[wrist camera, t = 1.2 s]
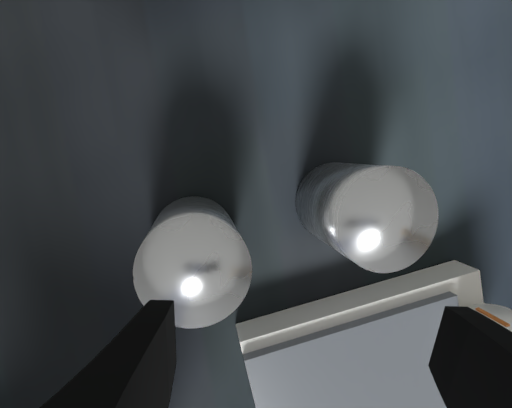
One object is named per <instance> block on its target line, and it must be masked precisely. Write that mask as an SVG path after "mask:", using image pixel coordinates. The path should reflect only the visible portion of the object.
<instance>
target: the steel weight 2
mask: <svg viewBox="0 0 512 408" xmlns="http://www.w3.org/2000/svg"><path fill="white" fill-rule="evenodd" d="M296 212H297V215H298V218H299V220H300V222H301V223H302V225H303V226H304V227H305V229H307V230H308V231H309V232H310V233H311V234H313V235H314V236H316V237H317V238H319V239H320V240H322V241H323V242H325V243H326V244H328V245H329V246H331V247H332V248H334V249H335V250H336V251H338V252H339V253H341V254H342V255H344V256H345V257H347V258H348V259H350V260H351V261H353V262H354V263H356V264H357V265H359V266H360V267H362V268H364V269H366V270H369V271H371V272H376V273H391V272H396V271H399V270H402V269H404V268H406V267H408V266H410V265H412V264H413V263H415V262H416V261H417V260H418V259H419V258H420V257H421V256H422V255H423V254H424V253H425V252H426V250H427V249H428V248H429V246H430V244H431V242H432V241H433V238H434V236H435V233H436V229H437V225H438V205H437V200H436V197H435V195H434V192H433V190H432V188H431V187H430V185H429V184H428V183H427V182H426V180H425V179H424V178H423V177H421V176H420V175H419V174H417V173H416V172H414V171H412V170H410V169H408V168H404V167H399V166H387V165H371V164H355V163H338V162H331V163H325V164H322V165H320V166H317V167H316V168H314V169H313V170H311V171H310V172H309V173H308V174H307V175H306V176H305V177H304V179H303V180H302V181H301V183H300V185H299V188H298V190H297V194H296Z"/></svg>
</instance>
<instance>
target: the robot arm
mask: <svg viewBox="0 0 512 408" xmlns="http://www.w3.org/2000/svg"><path fill="white" fill-rule="evenodd" d="M428 366H429V369H430V371H431V374H432V376H433V378H434V381H435V383H436V386H437V388H438V390H439V393H440V395H441V397H442V399H443V401H444V404H445V406H446V407H447V408H512V332H511V331H510V330H508V329H506V328H505V327H503V326H501V325H500V324H498V323H496V322H494V321H493V320H491V319H489V318H488V317H486V316H484V315H482V314H480V313H479V312H477V311H475V310H473V309H471V308H469V307H462V306H445V308H444V312H443V315H442V319H441V322H440V326H439V329H438V333H437V336H436V340H435V343H434V347H433V350H432V354H431V357H430V361H429V364H428ZM175 368H176V339H175V313H174V300H149V301H148V302H147V303H146V304H145V305H144V306H143V307H142V308H141V310H140V311H139V312H138V313H137V314H136V315H135V316H134V317H133V318H132V320H131V321H130V322H129V323H128V324H127V325H126V326H125V327H124V328H123V329H122V330H121V331H120V332H119V334H118V335H117V336H116V337H115V338H114V339H113V340H112V341H111V342H110V343H109V344H108V345H107V346H106V347H105V348H104V349H103V350H102V351H101V352H100V353H99V354H98V355H97V356H96V357H95V358H94V359H93V360H92V361H91V362H90V363H89V364H88V365H87V366H86V367H85V368H83V369H82V370H81V371H80V372H79V373H78V374H77V375H76V376H75V377H74V378H73V379H72V380H70V381H69V382H68V383H67V384H66V385H65V386H64V387H63V388H62V389H61V390H60V391H59V392H57V393H56V394H55V395H54V396H53V397H52V398H50V399H49V400H48V401H47V402H46V403H45V404H43V405H42V406H41V407H40V408H168V406H169V402H170V397H171V391H172V385H173V380H174V374H175Z"/></svg>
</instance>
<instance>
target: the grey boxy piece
mask: <svg viewBox="0 0 512 408" xmlns="http://www.w3.org/2000/svg"><path fill="white" fill-rule="evenodd" d="M445 306H462V307H469V308H471V309H473V310H475V311H477V312H479V313H480V314H482V315H484V316H486V317H488V318H489V319H491V320H493V321H494V322H496V323H498V324H500V325H501V326H503V327H505V328H506V329H508V330H510V331H511V332H512V310H511V309H509V308H507V307H504V306H500V305H495V304H485V303H483V294H482V285H481V277H480V270H478V269H476V268H473V267H471V266H468V265H466V264H463V263H461V262H458V261H456V260H453V261H449V262H446V263H442V264H439V265H436V266H432V267H429V268H425V269H422V270H418V271H415V272H412V273H408V274H405V275H401V276H398V277H395V278H391V279H388V280H384V281H381V282H377V283H374V284H371V285H367V286H364V287H360V288H357V289H354V290H350V291H347V292H343V293H340V294H336V295H333V296H330V297H326V298H323V299H319V300H316V301H313V302H309V303H306V304H302V305H299V306H295V307H292V308H289V309H285V310H282V311H278V312H275V313H272V314H268V315H265V316H261V317H258V318H254V319H251V320H248V321H244V322H241V323H237V324H235V325H236V329H237V333H238V337H239V341H240V345H241V349H242V353H243V358H244V362H245V366H246V370H247V374H248V378H249V382H250V386H251V390H252V394H253V398H254V402H255V406H256V408H447V407H446V406H445V404H444V401H443V399H442V397H441V395H440V393H439V390H438V388H437V386H436V383H435V381H434V378H433V376H432V374H431V371H430V369H429V366H428V364H429V361H430V357H431V354H432V350H433V347H434V343H435V340H436V336H437V333H438V329H439V326H440V322H441V319H442V315H443V312H444V308H445Z"/></svg>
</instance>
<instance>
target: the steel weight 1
mask: <svg viewBox="0 0 512 408" xmlns="http://www.w3.org/2000/svg"><path fill="white" fill-rule="evenodd" d="M251 277H252V263H251V257H250V254H249V251H248V249H247V246H246V244H245V242H244V241H243V239H242V237H241V235H240V234H239V232H238V230H237V228H236V226H235V225H234V223H233V221H232V219H231V218H230V216H229V214H228V213H227V212H226V210H225V209H224V208H223V207H222V206H221V205H219V204H218V203H216V202H215V201H213V200H211V199H208V198H205V197H199V196H189V197H183V198H180V199H177V200H175V201H173V202H172V203H170V204H169V205H167V206H166V207H165V208H164V209H163V210H162V211H161V212H160V214H159V215H158V217H157V218H156V220H155V222H154V223H153V225H152V227H151V229H150V230H149V232H148V234H147V235H146V237H145V239H144V240H143V242H142V244H141V246H140V248H139V250H138V251H137V254H136V257H135V261H134V265H133V282H134V287H135V290H136V293H137V296H138V298H139V299H140V301H141V303H142V304H143V306H144V305H145V304H146V303H147V302H148V301H149V300H174V313H175V327H179V328H202V327H206V326H210V325H212V324H215V323H217V322H219V321H221V320H223V319H225V318H226V317H228V316H229V315H230V314H231V313H232V312H234V311H235V310H236V309H237V307H238V306H239V305H240V304H241V302H242V301H243V300H244V298H245V296H246V294H247V292H248V289H249V287H250V283H251Z"/></svg>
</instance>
